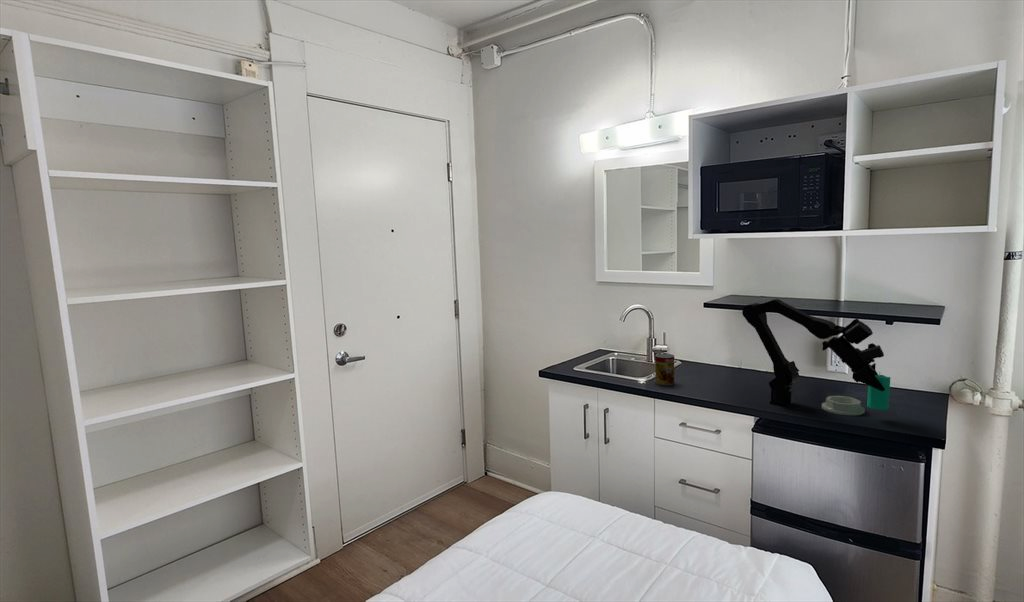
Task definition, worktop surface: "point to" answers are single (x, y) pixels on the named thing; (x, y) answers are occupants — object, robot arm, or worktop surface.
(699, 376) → the worktop surface
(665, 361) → the canned food
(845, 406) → the candle dish
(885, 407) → the candle
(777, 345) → the robot arm
